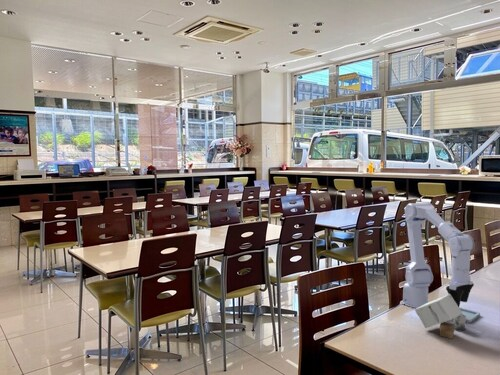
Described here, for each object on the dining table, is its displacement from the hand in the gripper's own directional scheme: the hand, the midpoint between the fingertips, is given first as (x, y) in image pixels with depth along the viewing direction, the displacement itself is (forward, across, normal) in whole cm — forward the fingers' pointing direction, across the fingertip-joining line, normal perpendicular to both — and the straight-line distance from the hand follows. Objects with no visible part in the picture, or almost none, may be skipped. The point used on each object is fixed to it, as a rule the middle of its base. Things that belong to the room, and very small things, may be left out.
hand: (459, 304), depth 139 cm
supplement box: (+5, -7, +10) cm, 13 cm away
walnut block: (+9, -9, +1) cm, 13 cm away
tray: (+9, +13, +4) cm, 16 cm away
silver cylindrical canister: (+9, 0, 0) cm, 9 cm away
